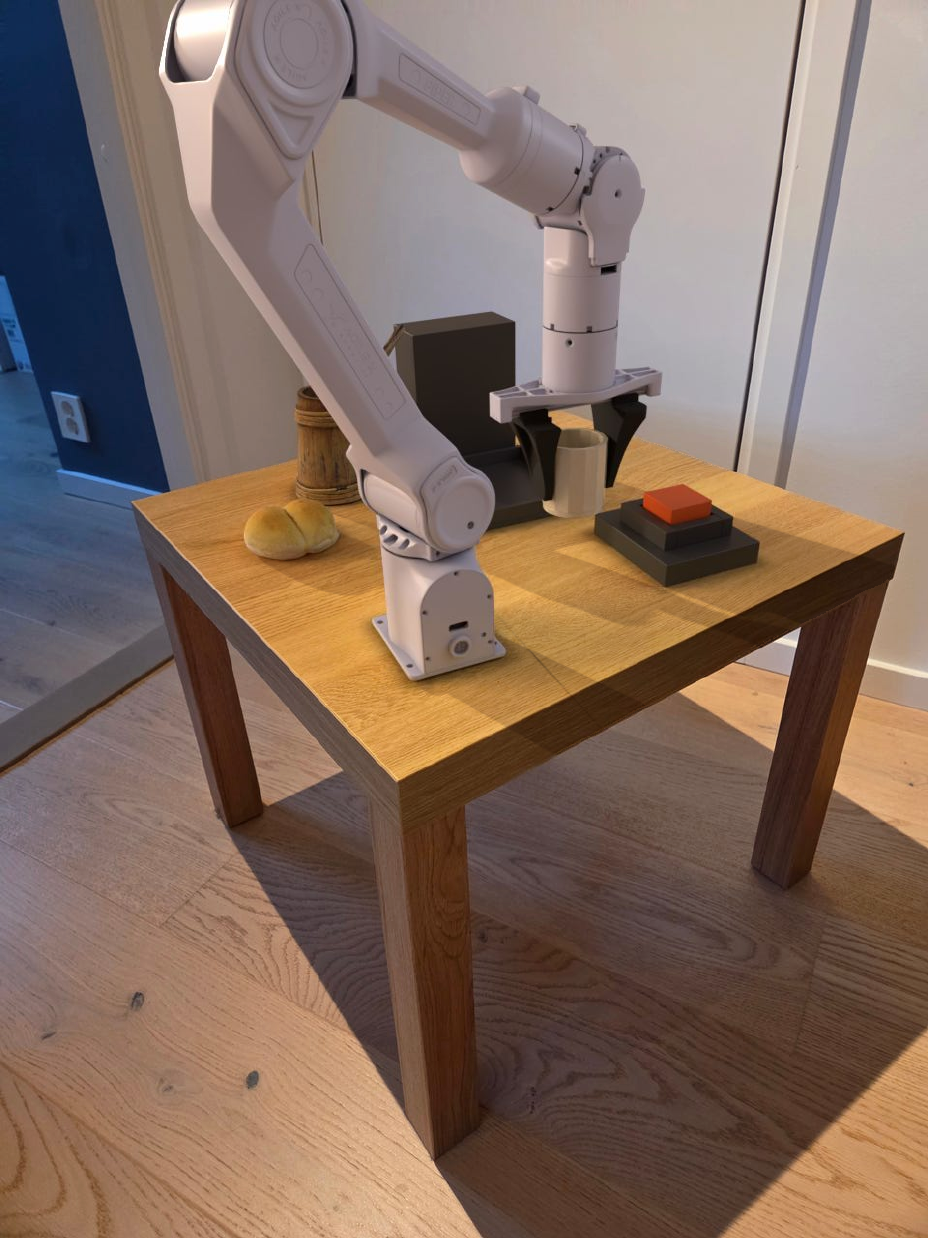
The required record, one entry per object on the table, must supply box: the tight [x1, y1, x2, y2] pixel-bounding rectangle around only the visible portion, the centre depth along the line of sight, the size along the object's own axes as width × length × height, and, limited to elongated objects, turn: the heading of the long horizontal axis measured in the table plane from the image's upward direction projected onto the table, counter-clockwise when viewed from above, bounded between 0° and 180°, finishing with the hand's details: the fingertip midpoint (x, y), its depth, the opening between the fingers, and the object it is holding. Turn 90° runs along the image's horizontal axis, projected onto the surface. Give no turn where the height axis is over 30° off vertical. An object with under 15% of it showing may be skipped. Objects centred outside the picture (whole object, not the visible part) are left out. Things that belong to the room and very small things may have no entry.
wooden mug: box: [294, 323, 405, 506], centre depth 90 cm, size 9×14×18 cm, turn 82°
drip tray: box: [462, 444, 556, 532], centre depth 92 cm, size 15×13×2 cm
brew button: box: [643, 483, 713, 525], centre depth 78 cm, size 4×4×2 cm
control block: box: [593, 497, 761, 588], centre depth 80 cm, size 12×10×4 cm
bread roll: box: [243, 498, 340, 561], centre depth 83 cm, size 8×9×4 cm
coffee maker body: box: [392, 310, 517, 456], centre depth 97 cm, size 6×12×16 cm, turn 114°
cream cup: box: [542, 427, 608, 519], centre depth 71 cm, size 5×5×6 cm
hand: (574, 489), depth 72 cm, fingers closed on cream cup, 5 cm apart
